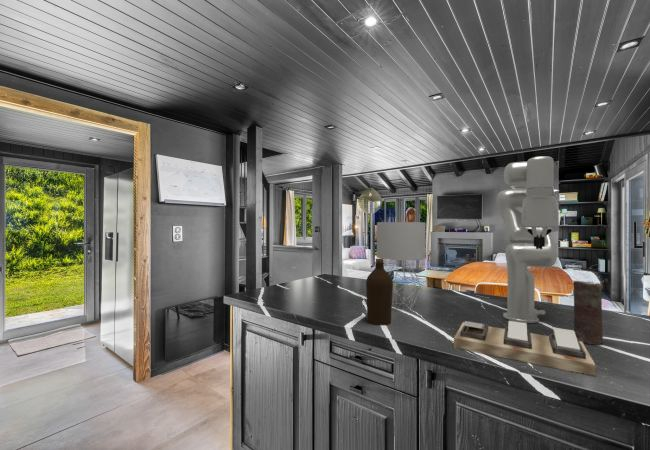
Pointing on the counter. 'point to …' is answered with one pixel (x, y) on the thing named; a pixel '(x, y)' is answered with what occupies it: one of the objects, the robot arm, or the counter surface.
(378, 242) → the table lamp
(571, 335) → the rocker right
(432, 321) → the counter surface
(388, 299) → the olive oil
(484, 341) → the switch panel
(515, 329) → the rocker middle
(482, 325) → the rocker left
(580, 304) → the candle
